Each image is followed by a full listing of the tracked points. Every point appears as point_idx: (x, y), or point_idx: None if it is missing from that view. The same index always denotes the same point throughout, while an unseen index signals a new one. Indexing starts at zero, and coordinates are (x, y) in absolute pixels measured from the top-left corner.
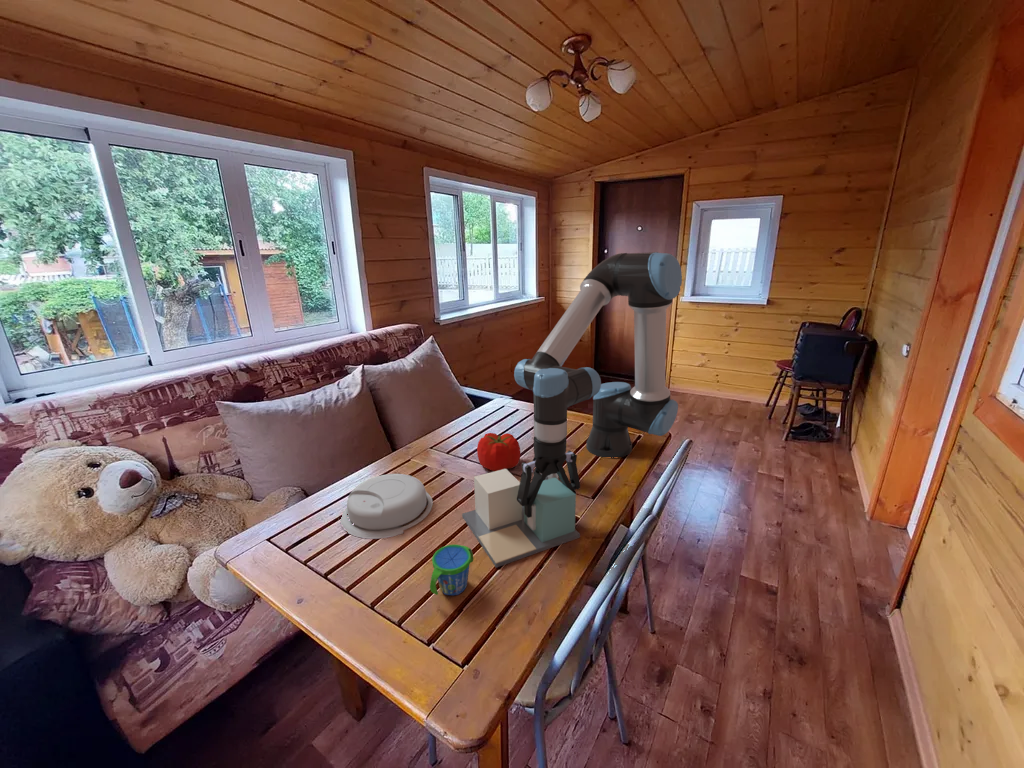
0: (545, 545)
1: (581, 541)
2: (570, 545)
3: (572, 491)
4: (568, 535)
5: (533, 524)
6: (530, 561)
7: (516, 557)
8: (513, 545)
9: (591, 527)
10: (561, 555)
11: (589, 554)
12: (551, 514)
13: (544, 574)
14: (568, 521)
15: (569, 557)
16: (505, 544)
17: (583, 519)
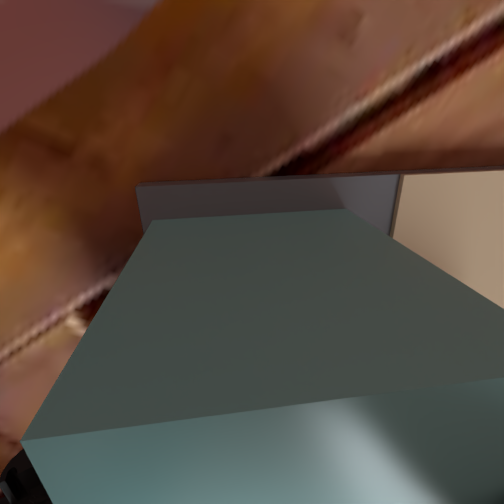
0: (348, 181)
1: (146, 151)
2: (217, 148)
3: (42, 488)
4: (201, 202)
5: None
6: (441, 132)
7: (493, 168)
8: (465, 236)
9: (40, 228)
10: (299, 99)
11: (154, 24)
12: (367, 281)
13: (453, 6)
14: (190, 245)
15: (272, 62)
16: (486, 254)
17: (58, 295)
